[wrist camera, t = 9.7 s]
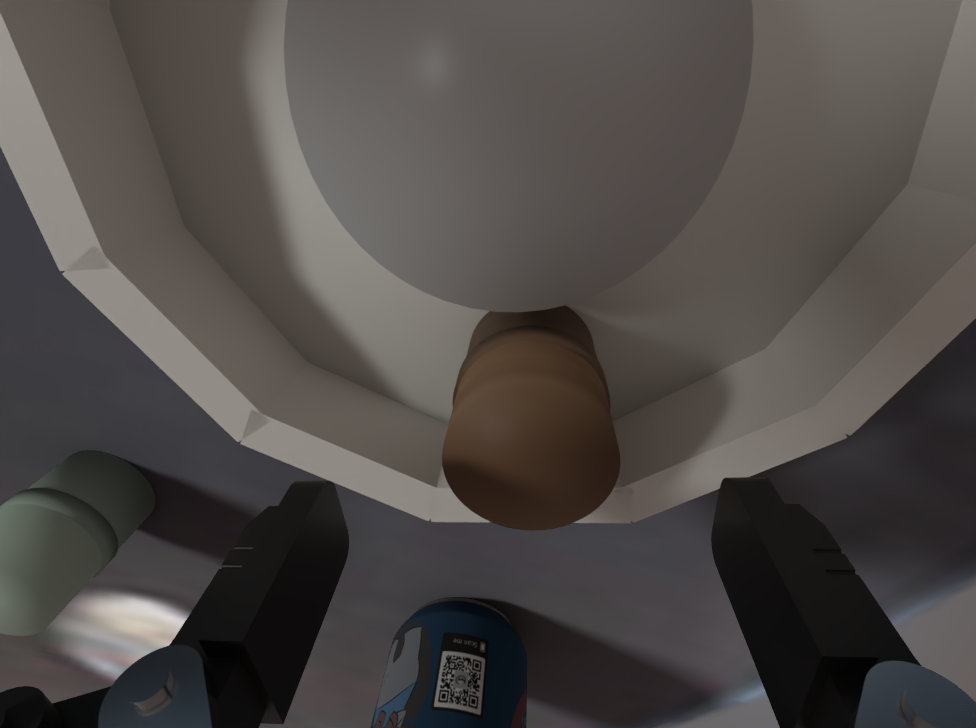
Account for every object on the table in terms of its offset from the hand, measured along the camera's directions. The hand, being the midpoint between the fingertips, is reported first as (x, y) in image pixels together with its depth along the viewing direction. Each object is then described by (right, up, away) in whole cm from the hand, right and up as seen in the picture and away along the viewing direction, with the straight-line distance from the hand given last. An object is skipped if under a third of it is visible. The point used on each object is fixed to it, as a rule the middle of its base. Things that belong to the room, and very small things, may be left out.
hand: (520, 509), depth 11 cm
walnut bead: (+1, +3, +7) cm, 8 cm away
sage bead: (-19, -3, +13) cm, 23 cm away
